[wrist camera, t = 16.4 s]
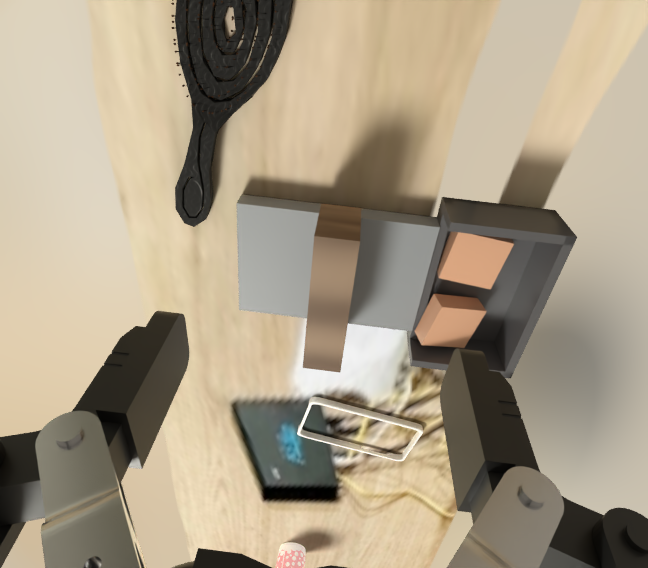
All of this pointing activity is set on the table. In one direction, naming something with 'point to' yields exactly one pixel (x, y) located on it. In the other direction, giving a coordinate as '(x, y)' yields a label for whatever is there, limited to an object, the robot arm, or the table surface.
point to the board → (297, 250)
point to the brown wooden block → (331, 285)
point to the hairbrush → (212, 87)
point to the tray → (498, 279)
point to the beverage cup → (291, 556)
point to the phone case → (367, 414)
